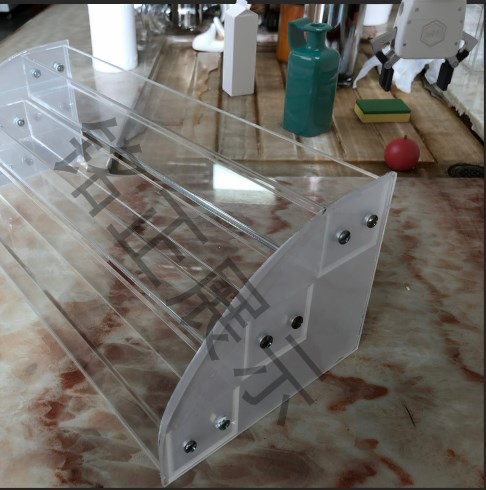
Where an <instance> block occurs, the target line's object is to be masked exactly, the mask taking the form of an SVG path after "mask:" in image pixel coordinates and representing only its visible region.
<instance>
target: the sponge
mask: <svg viewBox="0 0 486 490" xmlns="http://www.w3.org/2000/svg"><path fill="white" fill-rule="evenodd" d="M354 112H355V114H356V116H357V118H358V119H359V120H360V121H361V123H363V124H364V123H366V124H367V123H404V122H405V123H406V122H407V123H408V122H409V121H410V118H411V112H412V109H411V108H410V107H409V106H408V105H407V104H406V103H405V102H404V100H403V99H402V98H374V99H373V98H371V99H367V98H365V99H355V103H354Z"/></svg>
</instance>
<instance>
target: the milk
mask: <svg viewBox="0 0 486 490" xmlns="http://www.w3.org/2000/svg"><path fill="white" fill-rule="evenodd" d="M223 22H224V24H223V57H222V58H223V59H222V88H221V89H222V90H223V91H224V92H225V93H227V95H229V96H230V97H238V96H245V95H253V94H254V93H255V79H256V61H257V47H258V28H259V14H257V13H256V12H254V11H252V10H250V9H249V8H248V1H247V0H236V2H235V4H233V5H232V6H231V7H230V8H228V9H227V10H225V11H224V21H223Z"/></svg>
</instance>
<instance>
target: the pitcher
mask: <svg viewBox="0 0 486 490" xmlns="http://www.w3.org/2000/svg"><path fill="white" fill-rule="evenodd" d="M332 29H333V28H332V25H331V24H328V23H325V22H312V21H311V18H309V17H308V16H304V17H300V18H298V19H297V18H296V19H294V20H289V21H287V43H288V47H289V50H290V52H289V54H288V57H287V67H286V68H287V69H286V77H285V78H286V79H285V89H284V102H283V111H282V114H283V115H282V122H281V126H282V127H281V128H282V129H283V130H285V131H288V132H290V133H293V134H295V135H297V136H300V137H303V138H315V137H316V136H319V135H321V134H323V133H327V132H329V131H330V130H331V129H332V123H333V122H332V121H333V116H334V115H333V114H334V108H335V101H336V94H337V87H338V79H339V72H340V64H341V54H340V52H339V50H337V49H336V48H333V47H330V46H327V45H326V39H327V32H330V31H331V30H332ZM306 33H307V35H306Z"/></svg>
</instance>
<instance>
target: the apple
mask: <svg viewBox="0 0 486 490" xmlns="http://www.w3.org/2000/svg"><path fill="white" fill-rule="evenodd" d="M420 157H421V150H420V147H419V145H418V143H417V142H416V141H415V140H414V139H411V138H409V137H408V134H404V135H403V136H401V137H396V138H393V139H392V140H391V141H389V142H388V144H387V145H386V147H385V149H384V151H383V159H384V162H385V164H386V165H387V167H389V168H390V169H391V170H393V171H396V172H406V171H408V170H411V169H412V168H413V167H415V166H416V165H417V164H418V162H419V161H420Z"/></svg>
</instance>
